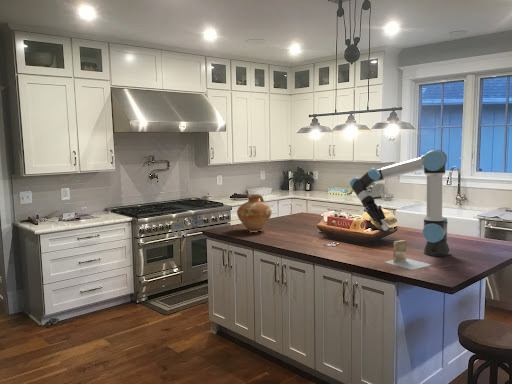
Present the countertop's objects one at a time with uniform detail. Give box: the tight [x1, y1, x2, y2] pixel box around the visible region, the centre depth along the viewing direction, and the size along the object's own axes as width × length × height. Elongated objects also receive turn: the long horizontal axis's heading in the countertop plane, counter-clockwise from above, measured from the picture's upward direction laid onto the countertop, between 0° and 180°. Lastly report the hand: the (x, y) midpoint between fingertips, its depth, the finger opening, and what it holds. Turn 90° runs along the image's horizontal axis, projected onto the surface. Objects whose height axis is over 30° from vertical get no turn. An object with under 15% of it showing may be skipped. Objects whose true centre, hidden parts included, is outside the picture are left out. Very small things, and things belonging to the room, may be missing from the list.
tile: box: [392, 239, 407, 263], centre depth 261 cm, size 2×8×12 cm, turn 122°
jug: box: [236, 193, 272, 232], centre depth 362 cm, size 28×28×30 cm
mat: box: [384, 257, 432, 271], centre depth 257 cm, size 20×17×1 cm
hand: (386, 229), depth 268 cm, fingers closed
